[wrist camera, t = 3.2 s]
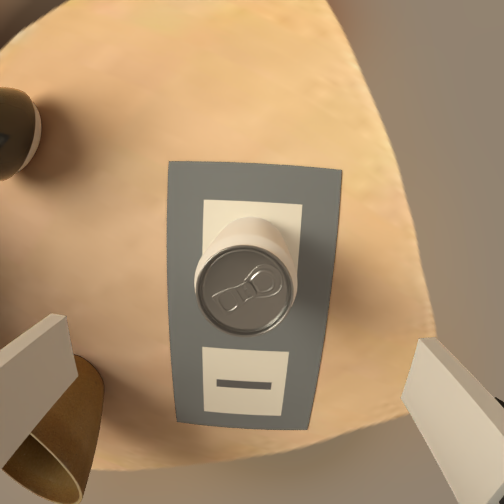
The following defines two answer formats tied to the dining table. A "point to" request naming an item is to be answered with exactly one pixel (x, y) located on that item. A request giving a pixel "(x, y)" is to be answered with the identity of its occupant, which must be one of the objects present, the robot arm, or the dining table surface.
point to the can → (246, 278)
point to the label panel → (275, 341)
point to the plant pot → (62, 442)
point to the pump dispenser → (17, 131)
